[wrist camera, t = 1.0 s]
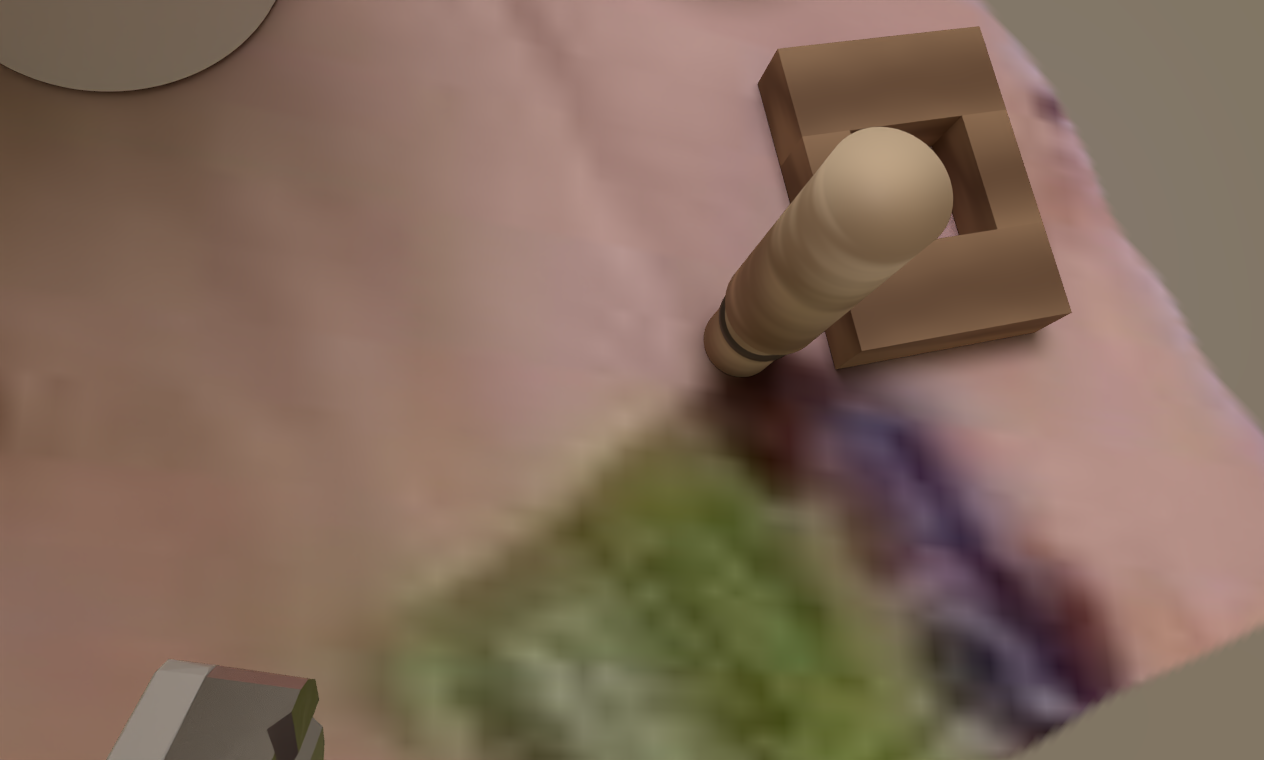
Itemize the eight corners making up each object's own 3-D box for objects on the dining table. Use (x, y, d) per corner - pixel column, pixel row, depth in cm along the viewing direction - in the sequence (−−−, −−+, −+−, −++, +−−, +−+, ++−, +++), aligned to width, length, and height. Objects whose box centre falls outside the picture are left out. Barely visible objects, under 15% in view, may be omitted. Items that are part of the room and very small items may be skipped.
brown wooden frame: (757, 83, 50) (777, 48, 47) (949, 60, 52) (979, 26, 50) (835, 369, 47) (861, 350, 44) (1034, 332, 50) (1071, 312, 47)
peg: (685, 305, 47) (809, 135, 32) (770, 291, 48) (931, 119, 32) (706, 393, 46) (845, 262, 31) (793, 377, 47) (969, 242, 32)
